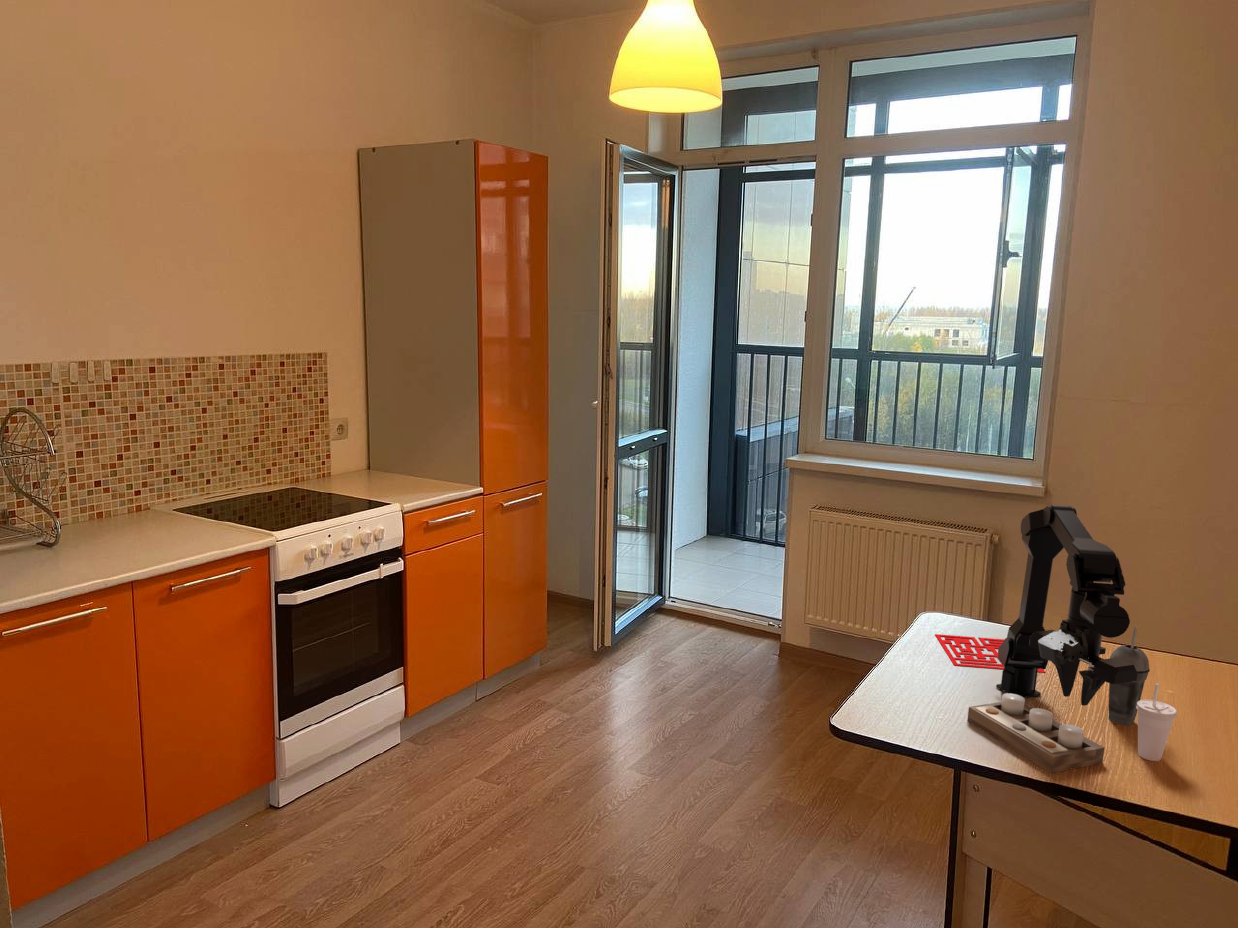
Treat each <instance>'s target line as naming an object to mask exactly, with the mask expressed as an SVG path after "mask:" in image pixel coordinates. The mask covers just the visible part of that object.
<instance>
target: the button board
mask: <svg viewBox="0 0 1238 928" xmlns="http://www.w3.org/2000/svg"><path fill="white" fill-rule="evenodd" d="M1001 705H1002V701H998V702H993V703H986V704H979V705H973V706H972V705H971V706H969V707H968V712H967V719H966V721H967V722H968V723H969V724H971V725H973V726H975V727H976V728H978V729H980V731H983V732H984V733H986V734H988V735H989V736H991V737H992V738H994V739H996V740H997V741H999V742H1001V743H1002V744H1003V745H1006V746H1007V747H1009V748H1011V749H1012V750H1014V751H1015V752H1016V753H1018V754H1020V755H1022V756H1024V757H1025V758H1027V759H1028V760H1030V761H1031V762H1033V763H1035V764H1036V765H1038V766H1039V767H1041V768H1042V769H1045V770H1046V771H1048V772H1050V773H1053V774H1054V773H1058V772H1063V771H1068V770H1073V769H1078V768H1079V769H1080V768H1085V767H1089V766H1094V765H1099V764H1100V765H1101V764H1103V763H1104V754H1105V747H1104V746H1103V745H1101V744H1098V743H1097V742H1096V741H1093V740H1091V739H1090V738H1087V737H1086V736H1084V735H1083V742H1082V748H1081V749H1076V750H1071V749H1067V748H1065V747H1064V746H1062V745H1060V744H1058V743H1057V741H1058V734H1059V726H1060V725H1063V724H1062V723H1060V722H1059V721H1057V720H1055V719H1053V721H1052V729H1051V731H1048V732H1038V731H1036V730H1034V729H1032V728H1031V727H1029V726H1028V722H1029V714H1030V709H1033V708H1034V707H1031V706H1029V705H1028V704H1025V703H1024V710H1023V715H1020V716H1010V715H1008V714H1006V713H1004V712H1003V711H1001Z"/></svg>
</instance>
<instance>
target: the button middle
mask: <svg viewBox="0 0 1238 928" xmlns="http://www.w3.org/2000/svg"><path fill="white" fill-rule="evenodd" d="M1032 708H1033V709H1030V714H1029V722H1028V726H1029V727H1031V728H1032V729H1034V730H1036V731H1038V732H1048V731H1051V729H1052V721H1053V720H1054V714H1053V713H1052V712H1051V711H1049V710H1047V709H1044V708H1039V707H1035V708H1034V707H1032Z"/></svg>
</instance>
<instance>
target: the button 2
mask: <svg viewBox="0 0 1238 928" xmlns="http://www.w3.org/2000/svg"><path fill="white" fill-rule="evenodd" d="M1084 733H1085V730H1084V729H1083V728H1081V727H1079V726H1077V725H1074V724H1068V723H1067V724H1065V723H1063V724H1062V725H1060V726H1059V734H1058V741H1057V743H1058V744H1060V745H1062V746H1064V747H1065V748H1067V749H1071V750H1076V749H1081V748H1082V742H1083V736H1084Z"/></svg>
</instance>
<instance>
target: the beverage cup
mask: <svg viewBox="0 0 1238 928" xmlns="http://www.w3.org/2000/svg"><path fill="white" fill-rule="evenodd" d="M1137 629H1138V626H1136V625H1134V627H1133V633H1132V639H1131V644H1124V645H1120V646H1118V647H1117V648H1115V649H1114V650H1113V651H1112V653H1111V654H1110V656H1109V659H1110V658H1120V659H1122V660H1124V661H1127V662H1129V663H1131V664H1134V665H1135V667H1136V668H1137V671H1138V673H1137V680H1136V681H1132V682H1125V683H1118V684H1111V683H1108V685H1109V686H1108V720H1109V721H1111V722H1112V723H1115V724H1118V725H1123V726H1132V725H1134V724H1135V720H1136V717H1137V716H1138V710H1137V708H1136V706H1137V702H1138V701H1140V700H1142V699H1141V697H1142V694H1143V690H1144V687H1145V683H1146V680H1147V678H1148V676H1149V672H1151V671H1150V661H1149V657H1148V656H1147V654H1146V652H1144V650H1143V649H1141V648H1139V647H1138V646H1135V643H1136V636H1137Z"/></svg>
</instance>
